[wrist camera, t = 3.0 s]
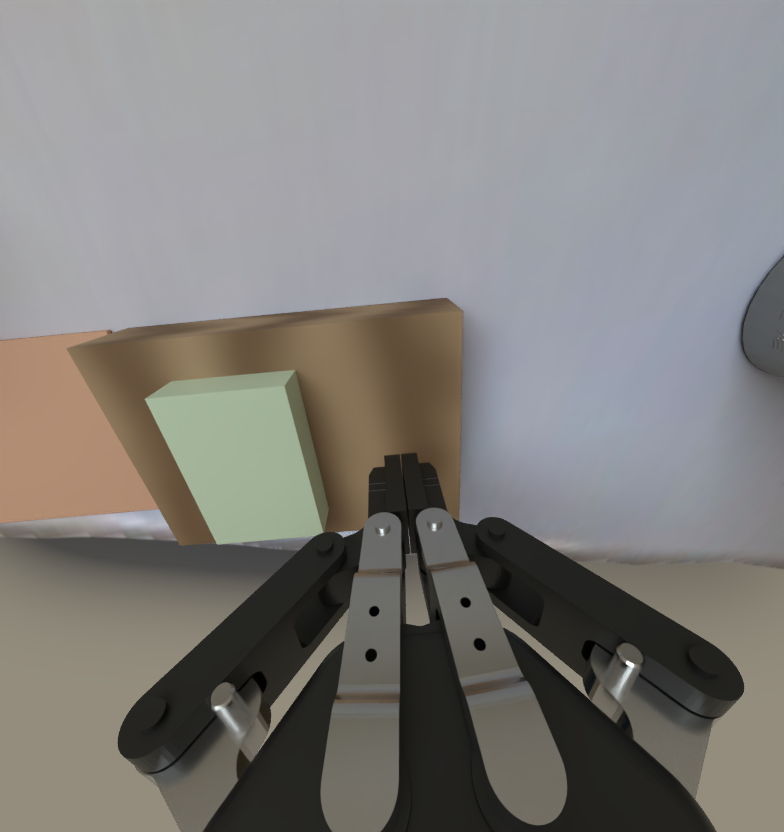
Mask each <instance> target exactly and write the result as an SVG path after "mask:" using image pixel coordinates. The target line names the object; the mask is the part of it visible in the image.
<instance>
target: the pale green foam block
mask: <svg viewBox="0 0 784 832" xmlns="http://www.w3.org/2000/svg"><path fill="white" fill-rule="evenodd" d="M145 401H146V403H147V405H148V407H149V409H150V411H151V413H152V415H153V417H154V419H155V421H156V423H157V425H158V427H159V429H160V431H161V433H162V435H163V437H164V439H165V441H166V443H167V445H168V447H169V449H170V451H171V453H172V455H173V457H174V459H175V461H176V463H177V465H178V467H179V469H180V471H181V473H182V475H183V477H184V479H185V481H186V483H187V485H188V487H189V489H190V491H191V493H192V495H193V497H194V499H195V501H196V503H197V505H198V507H199V509H200V511H201V513H202V515H203V517H204V519H205V521H206V523H207V525H208V527H209V529H210V531H211V533H212V535H213V537H214V539H215V541H216V543H217V544H228V543H239V542H251V541H262V540H274V539H285V538H297V537H308V536H317V535H319V534H321V533H324V532H325V527H326V521H327V516H328V511H329V507H328V503H327V499H326V495H325V491H324V487H323V482H322V478H321V474H320V470H319V466H318V462H317V457H316V453H315V449H314V445H313V441H312V437H311V433H310V428H309V424H308V420H307V416H306V412H305V408H304V403H303V399H302V395H301V391H300V387H299V383H298V379H297V374H296V370H288V371H277V372H267V373H256V374H245V375H234V376H224V377H213V378H202V379H191V380H181V381H171V382H170V383H168V384H167V385H165V386H164V387H162V388H161V389H159V390H158V391H156V392H155V393H153V394H151V395H150V396H148V397H147V398H145Z"/></svg>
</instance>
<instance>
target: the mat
mask: <svg viewBox="0 0 784 832" xmlns="http://www.w3.org/2000/svg"><path fill="white" fill-rule="evenodd" d="M109 334H112V333H111V331H110V330H104V331H93V332H83V333H72V334H62V335H51V336H40V337H30V338H19V339H9V340H0V523H5V522H16V521H28V520H39V519H50V518H61V517H73V516H84V515H95V514H107V513H118V512H129V511H141V510H152V509H159V508H158V506H157V505H156V503H155V501H154V499H153V498H152V496H151V494H150V492H149V491H148V489H147V487H146V486H145V484H144V482H143V480H142V479H141V477H140V475H139V473H138V472H137V470H136V468H135V467H134V465H133V463H132V461H131V460H130V458H129V456H128V454H127V453H126V451H125V449H124V448H123V446H122V444H121V442H120V441H119V439H118V437H117V435H116V434H115V432H114V430H113V428H112V427H111V425H110V423H109V422H108V420H107V418H106V416H105V415H104V413H103V411H102V409H101V408H100V406H99V404H98V403H97V401H96V399H95V397H94V396H93V394H92V392H91V390H90V389H89V387H88V385H87V384H86V382H85V380H84V378H83V377H82V375H81V373H80V371H79V370H78V368H77V366H76V364H75V363H74V361H73V359H72V358H71V356H70V354H69V352H68V351H67V349H66V348H69V347H72V346H75V345H78V344H81V343H84V342H87V341H90V340H93V339H96V338H99V337H102V336H106V335H109Z"/></svg>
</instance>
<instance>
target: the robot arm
mask: <svg viewBox="0 0 784 832" xmlns="http://www.w3.org/2000/svg"><path fill="white" fill-rule="evenodd" d="M743 344H744V350H745V353H746V354H747V356H748V358H749V360H750V361H751V362H752V363H753V364H754V365H755V366H756V367H758V368H759V369H761V370H764V371H766V372H769V373H772V374H775V375H778V376H781V377H784V258H783V259H782V260H781V261H780V262H779V263H778V264H777V265H776V266H775V267H774V268H773V269H772V271H771V272H770V273H769V275H768V276H767V278H766V279H765V280H764V282H763V283H762V285H761V286H760V287H759V289H758V291H757V293H756V295H755V297H754V299H753V301H752V302H751V304H750V306H749V309H748V312H747V316H746V319H745V322H744V328H743ZM401 463H402V469H401ZM384 464H385V467H374V468H373V469H372V471H371V473H370V474H369V492H368V520H367V521H366V523H365V525H364V527H363V528H362V529H361V530H360V531H358V532H357V533H355V534H352V535H350V536H347V537H344V538H343V537H342V536H341V535H339V534H338V533H335V532H324V533H321V534H319V535H317V536H315V537H314V538H312V539H311V540H310V541H309V542H308V543H307V544H306V545H305V546H304V547H303V548H302V549H300V550H299V551H298V552H297V553H296V554H295V555H294V556H293V557H292V558H291V559H290V560H289V561H288V562H286V564H284V565H283V566H282V567H281V568H280V569H279V570H278V571H277V572H276V573H275V574H274V575H273V576H271V577H270V578H269V579H268V580H267V581H266V582H265V583H264V584H263V585H262V586H261V587H260V588H258V589H257V590H256V591H255V592H254V593H253V594H252V595H251V596H250V597H249V598H248V599H247V600H246V601H245V602H243V603H242V604H241V605H240V606H239V607H238V608H237V609H236V610H235V611H234V612H233V613H231V614H230V615H229V616H228V617H227V618H226V619H225V620H224V621H223V622H222V623H221V624H220V625H219V626H218V627H216V628H215V629H214V630H213V631H212V632H211V633H210V634H209V635H208V636H207V637H206V638H205V639H203V640H202V641H201V642H200V643H199V644H198V645H197V646H196V647H195V648H194V649H193V650H192V651H191V652H190V653H188V654H187V655H186V656H185V657H184V658H183V659H182V660H181V661H180V662H179V663H178V664H177V665H175V666H174V667H173V668H172V669H171V670H170V671H169V672H168V673H167V674H166V675H165V676H164V677H162V678H161V679H160V680H159V681H158V682H157V683H156V684H155V685H154V686H153V687H152V688H151V689H150V690H148V691H147V692H146V693H145V694H144V695H143V696H142V697H141V698H140V699H139V700H138V701H137V702H136V703H135V705H134V706H133V707H132V708H131V710H130V711H129V713H128V714H127V716H126V718H125V719H124V721H123V723H122V726H121V728H120V732H119V736H118V748H119V751H120V753H121V754H122V755H123V756H124V757H125V758H126V759H127V760H129V761H130V762H131V763H132V764H134V765H135V768H136V770H137V771H138V772H139V773H141V774H142V775H143V776H144V777H145V778H147V779H148V780H149V781H151V782H152V783H153V784H154V785H156V786H157V787H158V788H159V789H160V791H161V793H162V795H163V797H164V799H165V801H166V803H167V805H168V807H169V809H170V811H171V813H172V815H173V817H174V819H175V821H176V823H177V825H178V827H179V829H180V831H181V832H716V830H715V828H714V826H713V825H712V823H711V822H710V820H709V818H708V817H707V816H706V814H705V812H704V811H703V810H702V808H701V807H700V806H699V804H698V803H697V802H696V800H695V798H696V793H697V788H698V784H699V779H700V775H701V771H702V767H703V762H704V758H705V753H706V749H707V745H708V740H709V736H710V731H711V728H712V727H713V726H714V725H715V724H716V723H717V722H718V720H719V719H720V718H721V717H722V716H723V715H724V714H725V713H726V712H727V711H728V710H729V709H730V708H731V707H732V706H733V705H734V704H735V703H736V701H737V700H738V699H739V698H740V697H741V696H742V694H743V692H744V683H743V679H742V677H741V675H740V672H739V671H738V669H737V668H736V666H735V665H734V664H733V662H732V661H731V660H730V659H729V658H728V657H727V656H726V655H725V654H724V653H723V652H722V651H721V650H719V649H718V648H717V647H715V646H714V645H713V644H711V643H709V642H708V641H706V640H704V639H703V638H701V637H700V636H698V635H696V634H695V633H693V632H691V631H690V630H688V629H686V628H685V627H683V626H681V625H680V624H678V623H676V622H675V621H673V620H671V619H670V618H668V617H666V616H664V615H663V614H661V613H659V612H658V611H656V610H654V609H653V608H651V607H649V606H648V605H646V604H645V603H643V602H641V601H640V600H638V599H636V598H634V597H633V596H631V595H630V594H628V593H626V592H625V591H622V590H621V589H620V588H618V587H616V586H615V585H613V584H611V583H610V582H608V581H606V580H605V579H603V578H601V577H600V576H598V575H596V574H595V573H593V572H591V571H590V570H588V569H586V568H584V567H583V566H581V565H580V564H578V563H576V562H574V561H573V560H571V559H569V558H568V557H566V556H564V555H563V554H561V553H559V552H558V551H556V550H554V549H553V548H551V547H549V546H548V545H546V544H544V543H543V542H541V541H539V540H538V539H536V538H534V537H533V536H531V535H529V534H528V533H526V532H524V531H523V530H521V529H519V528H518V527H516V526H514V525H513V524H511V523H509V522H508V521H506V520H504V519H501V518H497V517H489V518H485V519H483V520H481V521H480V522H479V523H478V525H471V524H466V523H462V522H459V521H457V520H456V519H454V518H453V517H452V516H451V515H450V514H449V513H448V511H447V508H446V504H445V501H444V497H443V493H442V490H441V486H440V483H439V479H438V475H437V472H436V469H435V468H434V467H433V466H432V465H431V464H430V463H429V462H427V463H419V461H418V457H417V453H405V454H401V461H400V454H395V455H384ZM402 476H403V477H402ZM408 529H409V535H408ZM409 537H410V545H411V553H417V557H418V568H419V575H420V579H421V584H422V589H423V593H424V597H425V602H426V606H427V611H428V615H429V620H430V623H429V624H427V625H424V626H415V625H409V624H406V589H405V569H406V555H405V554H410V549H409ZM493 604H494V605H495V606H496V607H497V608H498V609H500V610H501V611H502V612H503V613H505V614H506V615H507V616H508V617H509V618H511V619H512V620H513V621H514V622H515V623H517V624H518V625H519V626H520V627H522V628H523V629H524V630H525V631H526V632H528V633H529V634H530V635H531V636H532V637H534V638H535V639H536V640H538V642H540V643H541V644H542V645H543V646H545V647H546V648H547V649H548V650H550V651H551V652H552V653H553V654H554V655H555V656H557V657H558V658H559V659H560V660H562V661H563V662H564V663H565V664H566V665H568V666H569V667H570V668H571V669H573V670H574V671H575V672H576V673H577V674H579V675H580V676H581V677H582V678H583V685H584V687H585V691H586V693H587V695H588V697H589V698H590V700H591V701H590V700H589V699H588V698H587V697H586V696H585V695H584V694H583V693H581V692H580V691H579V690H578V689H577V688H576V687H575V686H574V685H573V684H571V683H570V682H569V681H568V680H567V679H566V678H565V677H564V676H562V675H561V674H560V673H559V672H558V671H557V670H556V669H555V668H554V667H552V666H551V665H550V664H549V663H548V662H547V661H546V660H545V659H543V658H542V657H541V656H540V655H539V654H538V653H537V652H536V651H534V649H532V648H531V647H530V646H529V645H528V644H527V643H526V642H524V641H523V640H522V639H521V638H519V637H518V636H517V635H515V634H514V633H512V632H510V631H509V630H507V629H505V628H503V627H502V625H501V622H500V620H499V618H498V615H497V613H496V610H495V608H494V605H493ZM348 608H349V613H348V621H347V627H346V634H345V641H343V642H342V643H341V644H339V645H338V646H337V647H336V648H334V649H333V650H332V651H331V652H330V653H329V654H328V655H327V657H326V658H325V659H324V660H323V662H322V663H321V664H320V666H319V667H318V668H317V670H316V672H315V673H314V674H313V676H312V677H311V678H310V680H309V681H308V683H307V684H306V685H305V687H304V688H303V690H302V691H301V693H300V694H299V696H298V697H297V698H296V700H295V701H294V702H293V704H292V705H291V707H290V708H289V710H288V711H287V712H286V714H285V715H284V716H283V718H282V719H281V721H280V722H279V724H278V725H277V726H276V728H275V729H274V731H273V732H272V733H271V735H270V736H269V738H268V739H267V741H266V742H265V743H264V745H263V746H262V748H261V749H260V750H259V748H260V746H261V745H262V743H263V742H264V739H265V738H266V736H267V733H268V731H269V728H270V723H271V709H270V707H271V705H272V704H273V703H274V702H275V700H276V699H277V698H278V696H279V695H280V694H281V693H282V691H283V690H284V689H285V688H286V686H287V685H288V684H289V683H290V681H291V680H292V679H293V677H294V676H295V675H296V673H297V672H298V671H299V670H300V669H301V667H302V666H303V665H304V664H305V662H306V661H307V660H308V658H309V657H310V656H311V655H312V653H313V652H314V651H315V650H316V648H317V647H318V646H319V645H320V643H321V642H322V641H323V640H324V638H325V637H326V636H327V635H328V633H329V632H330V631H331V629H332V628H333V627H334V626H335V624H336V623H337V622H338V621H339V619H340V618H341V617H342V616H343V614H344V613H345V612H346V610H347V609H348ZM258 750H259V752H258ZM257 752H258V753H257ZM256 754H257V755H256Z"/></svg>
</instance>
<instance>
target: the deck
mask: <svg viewBox="0 0 784 832" xmlns="http://www.w3.org/2000/svg"><path fill="white" fill-rule="evenodd" d="M462 337H463V311H462V310H461V309H460V308H459V307H457V306H456V305H455V304H454V303H452V302H451V301H450V300H449V299H447V298H440V299H430V300H419V301H409V302H398V303H388V304H377V305H367V306H356V307H346V308H335V309H324V310H314V311H303V312H293V313H282V314H272V315H261V316H251V317H240V318H230V319H219V320H209V321H198V322H188V323H177V324H167V325H156V326H146V327H135V328H127V329H124V330H121V331H118V332H115V333H112V334H109V335H106V336H102V337H99V338H96V339H93V340H90V341H87V342H84V343H81V344H78V345H75V346H72V347H69V348H66V349H67V351H68V352H69V354H70V356H71V358H72V359H73V361H74V363H75V364H76V366H77V368H78V370H79V371H80V373H81V375H82V377H83V378H84V380H85V382H86V384H87V385H88V387H89V389H90V390H91V392H92V394H93V396H94V397H95V399H96V401H97V403H98V404H99V406H100V408H101V409H102V411H103V413H104V415H105V416H106V418H107V420H108V422H109V423H110V425H111V427H112V428H113V430H114V432H115V434H116V435H117V437H118V439H119V441H120V442H121V444H122V446H123V448H124V449H125V451H126V453H127V454H128V456H129V458H130V460H131V461H132V463H133V465H134V467H135V468H136V470H137V472H138V473H139V475H140V477H141V479H142V480H143V482H144V484H145V486H146V487H147V489H148V491H149V492H150V494H151V496H152V498H153V499H154V501H155V503H156V505H157V506H158V508H159V510H160V511H161V513H162V515H163V517H164V518H165V520H166V522H167V524H168V525H169V527H170V529H171V531H172V532H173V534H174V536H175V537H176V539H177V541H178V543H179V544H180V545H191V544H192V545H193V544H204V543H216V541H215V539H214V537H213V535H212V533H211V531H210V529H209V527H208V525H207V523H206V521H205V519H204V517H203V515H202V513H201V511H200V509H199V507H198V505H197V503H196V501H195V499H194V497H193V495H192V493H191V491H190V489H189V487H188V485H187V483H186V481H185V479H184V477H183V475H182V473H181V471H180V469H179V467H178V465H177V463H176V461H175V459H174V457H173V455H172V453H171V451H170V449H169V447H168V445H167V443H166V441H165V439H164V437H163V435H162V433H161V431H160V429H159V427H158V425H157V423H156V421H155V419H154V417H153V415H152V413H151V411H150V409H149V407H148V405H147V403H146V401H145V398H147V397H148V396H150V395H151V394H153V393H155V392H156V391H158V390H159V389H161V388H162V387H164V386H165V385H167V384H168V383H170V382H171V381H181V380H191V379H202V378H213V377H224V376H234V375H245V374H256V373H267V372H277V371H288V370H296V374H297V379H298V383H299V387H300V391H301V395H302V399H303V403H304V408H305V412H306V416H307V420H308V424H309V428H310V433H311V437H312V441H313V445H314V449H315V453H316V457H317V462H318V466H319V470H320V474H321V478H322V482H323V487H324V491H325V495H326V499H327V503H328V507H329V511H328V516H327V521H326V527H325V532H342V531H353V530H361V529H362V528H363V527H364V525H365V523H366V521H367V520H368V492H369V474H370V473H371V471H372V469H373V468H374V467H385V464H384V455H395V454H400V461H401V454H405V453H417V457H418V461H419V463H427V462H429V463H430V464H431V465H432V466H433V467H434V468H435V469H436V472H437V475H438V479H439V483H440V486H441V490H442V493H443V497H444V501H445V504H446V508H447V511H448V513H449V514H450V515H451V516H452V517H453V518H454V519H456V520H457V521H459V498H460V444H461V391H462ZM401 469H402V463H401ZM402 477H403V476H402Z"/></svg>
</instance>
